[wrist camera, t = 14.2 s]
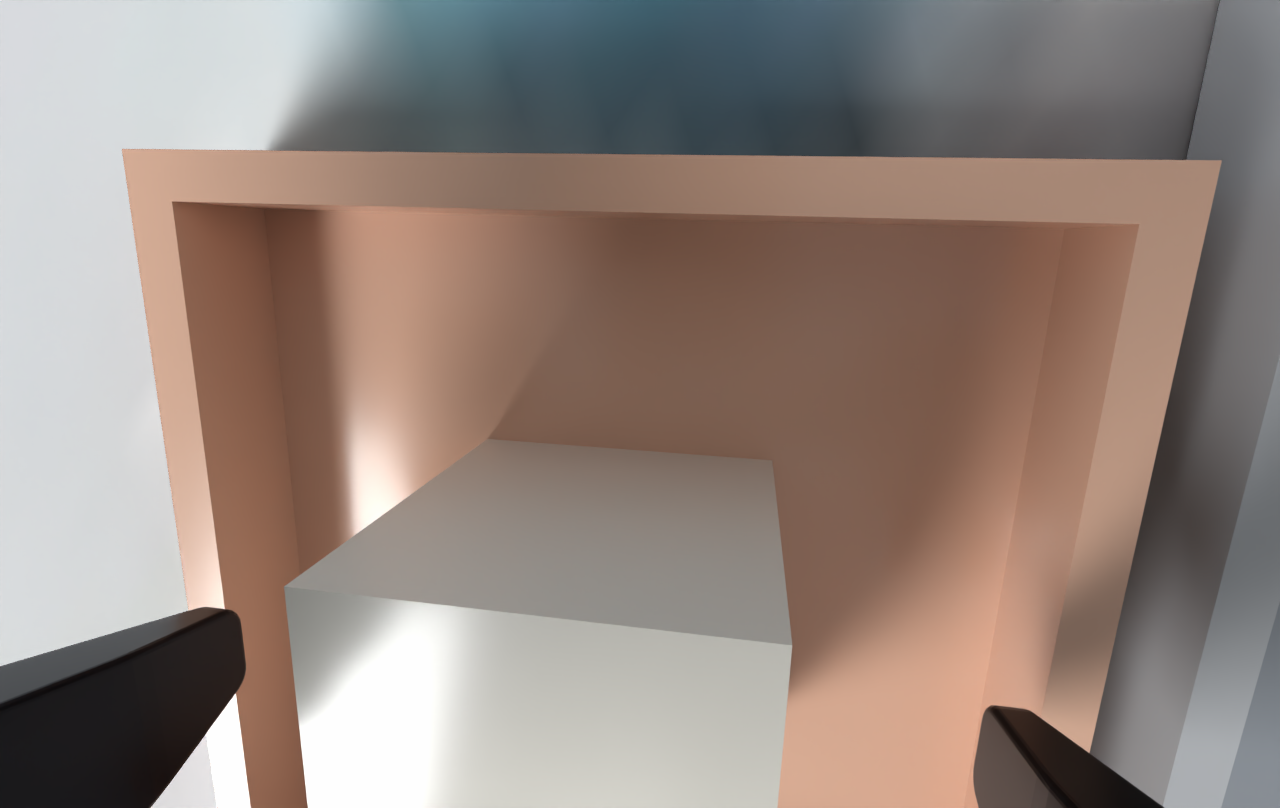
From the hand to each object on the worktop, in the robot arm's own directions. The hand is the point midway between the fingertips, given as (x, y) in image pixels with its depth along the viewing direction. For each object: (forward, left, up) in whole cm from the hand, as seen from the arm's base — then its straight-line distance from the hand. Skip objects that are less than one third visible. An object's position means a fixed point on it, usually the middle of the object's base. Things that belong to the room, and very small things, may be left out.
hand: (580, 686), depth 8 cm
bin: (0, 0, -3) cm, 3 cm away
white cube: (0, 0, -2) cm, 2 cm away
